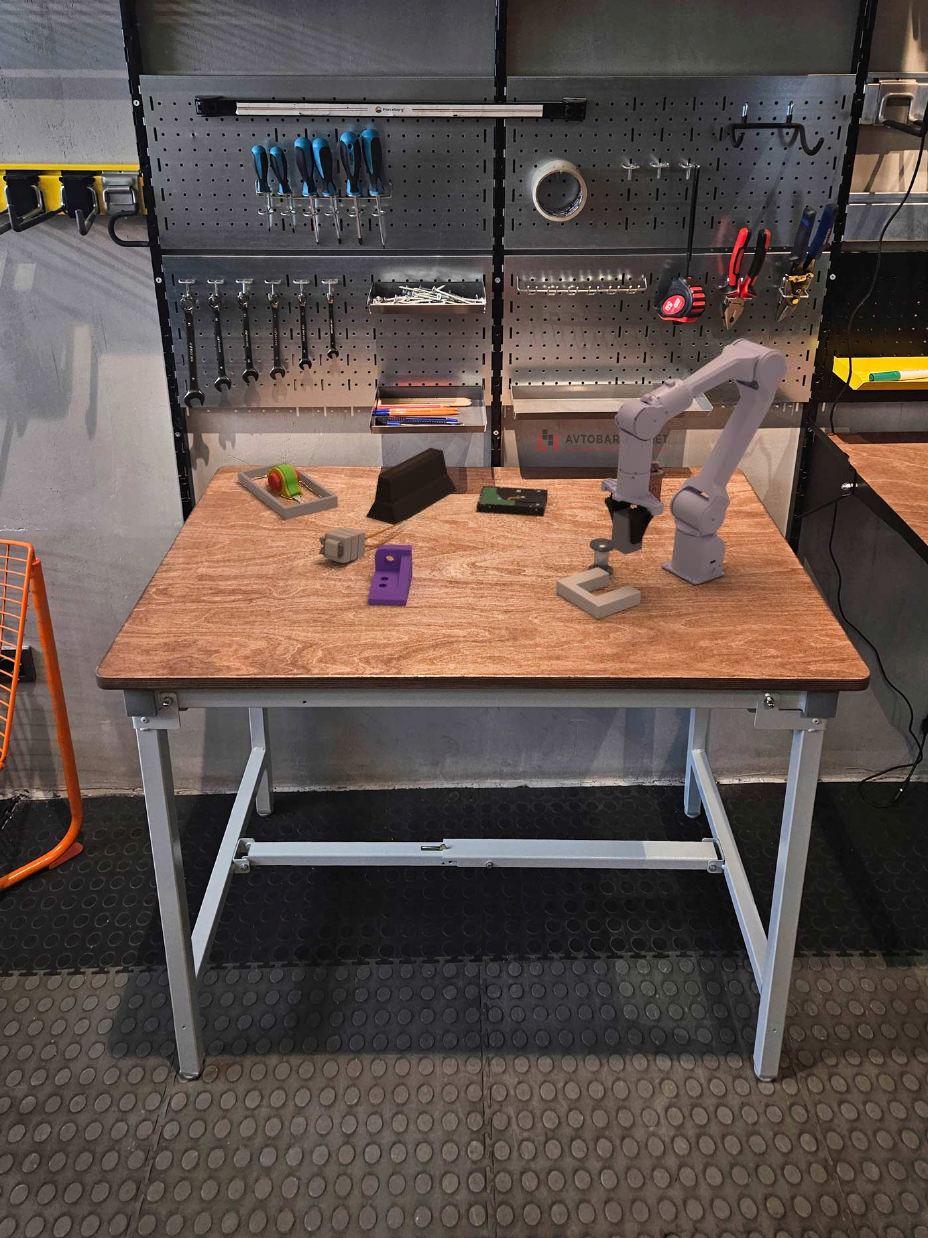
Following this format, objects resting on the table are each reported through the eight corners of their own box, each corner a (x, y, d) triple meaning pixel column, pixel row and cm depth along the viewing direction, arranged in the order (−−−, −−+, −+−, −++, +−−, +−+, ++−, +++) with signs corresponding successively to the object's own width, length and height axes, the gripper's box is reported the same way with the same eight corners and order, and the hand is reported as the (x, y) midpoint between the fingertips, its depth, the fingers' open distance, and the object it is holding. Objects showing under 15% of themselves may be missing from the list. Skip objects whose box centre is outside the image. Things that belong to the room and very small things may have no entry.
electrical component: (386, 536, 219) (388, 513, 217) (409, 542, 216) (411, 519, 214) (318, 558, 199) (319, 533, 197) (342, 565, 196) (344, 540, 194)
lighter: (660, 500, 228) (664, 457, 223) (661, 506, 225) (665, 463, 220) (623, 498, 228) (627, 456, 223) (624, 504, 225) (628, 462, 220)
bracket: (377, 576, 196) (375, 544, 192) (412, 577, 195) (411, 545, 192) (368, 606, 185) (366, 572, 182) (406, 607, 185) (405, 573, 181)
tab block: (641, 549, 187) (645, 514, 183) (625, 554, 185) (628, 519, 182) (627, 541, 190) (630, 507, 186) (610, 546, 188) (613, 511, 184)
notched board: (639, 604, 185) (641, 591, 184) (597, 618, 181) (598, 606, 179) (597, 578, 194) (598, 567, 193) (556, 592, 189) (556, 580, 188)
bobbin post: (618, 573, 196) (620, 545, 193) (598, 579, 194) (601, 551, 191) (601, 563, 200) (604, 536, 197) (582, 570, 197) (584, 542, 194)
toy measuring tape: (282, 481, 237) (280, 454, 234) (330, 506, 224) (328, 478, 221) (258, 488, 233) (256, 461, 230) (306, 514, 221) (303, 485, 217)
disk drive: (547, 500, 229) (482, 496, 231) (548, 489, 227) (482, 484, 229) (544, 519, 220) (476, 514, 222) (544, 507, 219) (476, 502, 220)
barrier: (426, 483, 237) (425, 442, 232) (457, 491, 233) (457, 449, 228) (364, 517, 219) (362, 474, 214) (397, 527, 215) (396, 482, 210)
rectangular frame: (338, 506, 224) (337, 496, 223) (285, 519, 218) (284, 508, 217) (288, 471, 242) (287, 461, 241) (238, 481, 236) (237, 471, 235)
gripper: (590, 460, 183) (585, 529, 190) (645, 486, 173) (638, 558, 179) (620, 453, 187) (614, 520, 193) (675, 477, 176) (667, 548, 183)
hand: (627, 538), depth 187 cm, fingers closed on tab block, 4 cm apart
